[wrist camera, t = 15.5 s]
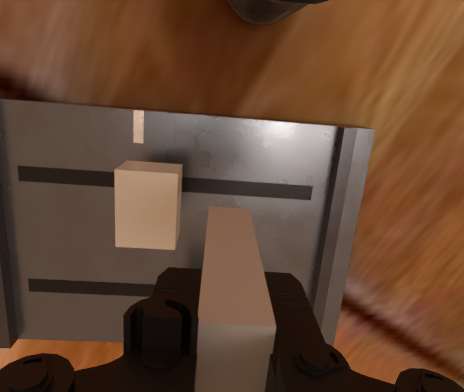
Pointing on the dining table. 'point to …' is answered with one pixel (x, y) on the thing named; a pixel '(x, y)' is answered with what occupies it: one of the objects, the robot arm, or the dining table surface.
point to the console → (191, 216)
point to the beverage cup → (267, 9)
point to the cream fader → (147, 204)
